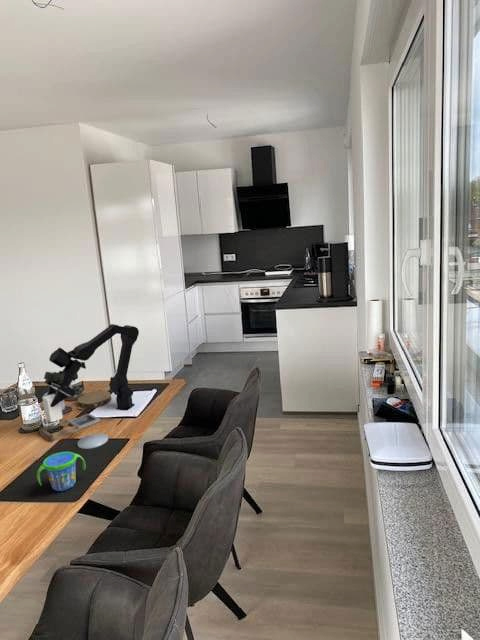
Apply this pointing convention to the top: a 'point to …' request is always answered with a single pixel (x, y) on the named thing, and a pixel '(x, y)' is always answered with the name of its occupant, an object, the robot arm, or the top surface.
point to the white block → (52, 409)
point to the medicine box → (60, 402)
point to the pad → (92, 441)
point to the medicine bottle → (77, 386)
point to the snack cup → (61, 470)
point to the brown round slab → (94, 399)
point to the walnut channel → (59, 434)
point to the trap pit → (84, 421)
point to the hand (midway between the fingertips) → (48, 405)
